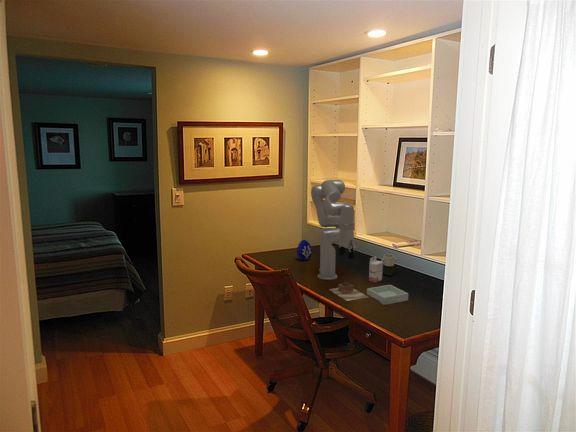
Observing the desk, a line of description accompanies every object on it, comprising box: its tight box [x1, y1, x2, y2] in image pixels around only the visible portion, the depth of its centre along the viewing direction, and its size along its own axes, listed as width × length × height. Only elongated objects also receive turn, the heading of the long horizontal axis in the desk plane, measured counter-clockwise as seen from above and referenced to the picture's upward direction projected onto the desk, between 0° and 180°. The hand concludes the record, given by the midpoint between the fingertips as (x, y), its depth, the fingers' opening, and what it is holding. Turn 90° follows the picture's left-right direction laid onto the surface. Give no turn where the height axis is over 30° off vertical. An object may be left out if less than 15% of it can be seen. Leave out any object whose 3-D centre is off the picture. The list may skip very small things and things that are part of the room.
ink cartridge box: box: [368, 255, 384, 283], centre depth 278 cm, size 9×5×15 cm, turn 141°
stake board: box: [329, 281, 369, 302], centre depth 254 cm, size 20×14×6 cm
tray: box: [366, 284, 409, 306], centre depth 249 cm, size 16×16×4 cm
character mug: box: [380, 253, 397, 276], centre depth 289 cm, size 11×7×13 cm, turn 107°
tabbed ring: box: [337, 282, 356, 294], centre depth 257 cm, size 6×8×4 cm
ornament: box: [296, 239, 313, 261], centre depth 324 cm, size 11×9×15 cm
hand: (346, 256), depth 253 cm, fingers open, 9 cm apart
